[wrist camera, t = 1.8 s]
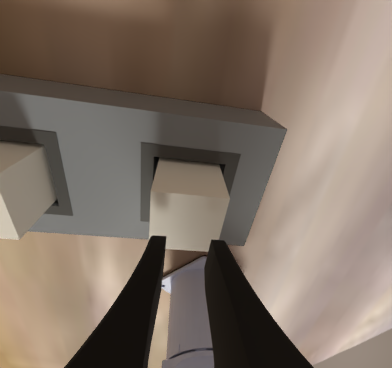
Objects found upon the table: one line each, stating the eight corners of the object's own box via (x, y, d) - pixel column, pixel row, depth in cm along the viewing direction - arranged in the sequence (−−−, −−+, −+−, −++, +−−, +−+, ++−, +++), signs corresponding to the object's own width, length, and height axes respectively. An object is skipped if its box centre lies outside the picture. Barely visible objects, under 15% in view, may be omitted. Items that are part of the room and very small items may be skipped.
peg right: (218, 161, 14) (230, 198, 11) (208, 206, 16) (215, 252, 13) (160, 154, 14) (150, 191, 10) (157, 202, 16) (148, 248, 12)
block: (261, 111, 17) (287, 129, 12) (232, 209, 22) (244, 246, 17) (-44, 67, 14) (-143, 71, 10) (4, 189, 19) (-48, 226, 15)
